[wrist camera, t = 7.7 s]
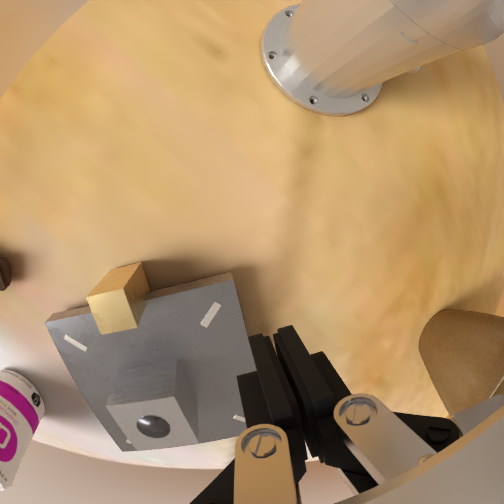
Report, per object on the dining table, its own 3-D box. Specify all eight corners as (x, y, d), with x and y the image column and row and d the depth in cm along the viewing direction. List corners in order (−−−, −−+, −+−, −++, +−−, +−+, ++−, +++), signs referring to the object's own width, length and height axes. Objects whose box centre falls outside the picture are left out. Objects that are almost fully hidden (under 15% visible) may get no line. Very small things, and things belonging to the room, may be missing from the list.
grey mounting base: (223, 241, 26) (231, 262, 19) (266, 410, 31) (279, 451, 25) (48, 286, 23) (14, 314, 17) (125, 434, 29) (118, 474, 22)
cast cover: (176, 360, 24) (174, 397, 19) (197, 406, 26) (199, 444, 21) (117, 371, 23) (105, 406, 19) (142, 415, 25) (136, 451, 20)
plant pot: (421, 277, 31) (524, 332, 15) (480, 289, 34) (558, 329, 19) (378, 382, 34) (446, 461, 18) (444, 375, 37) (504, 429, 22)
